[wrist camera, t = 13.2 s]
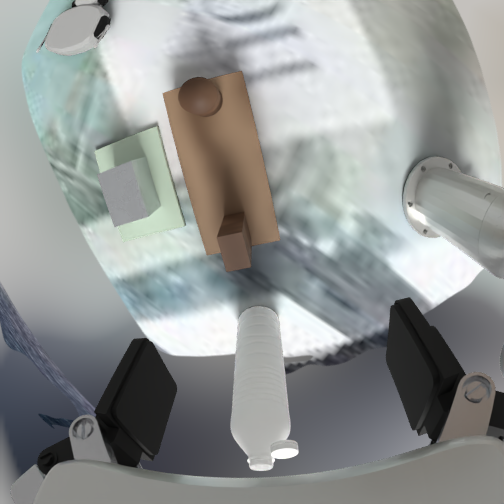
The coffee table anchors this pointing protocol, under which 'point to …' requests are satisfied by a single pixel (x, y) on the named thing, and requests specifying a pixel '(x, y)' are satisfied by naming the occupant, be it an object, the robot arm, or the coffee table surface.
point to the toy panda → (78, 28)
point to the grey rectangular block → (129, 191)
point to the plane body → (223, 166)
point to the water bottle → (261, 390)
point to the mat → (153, 150)
